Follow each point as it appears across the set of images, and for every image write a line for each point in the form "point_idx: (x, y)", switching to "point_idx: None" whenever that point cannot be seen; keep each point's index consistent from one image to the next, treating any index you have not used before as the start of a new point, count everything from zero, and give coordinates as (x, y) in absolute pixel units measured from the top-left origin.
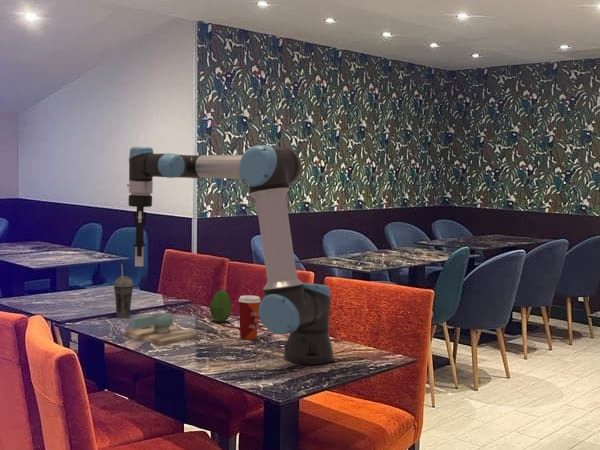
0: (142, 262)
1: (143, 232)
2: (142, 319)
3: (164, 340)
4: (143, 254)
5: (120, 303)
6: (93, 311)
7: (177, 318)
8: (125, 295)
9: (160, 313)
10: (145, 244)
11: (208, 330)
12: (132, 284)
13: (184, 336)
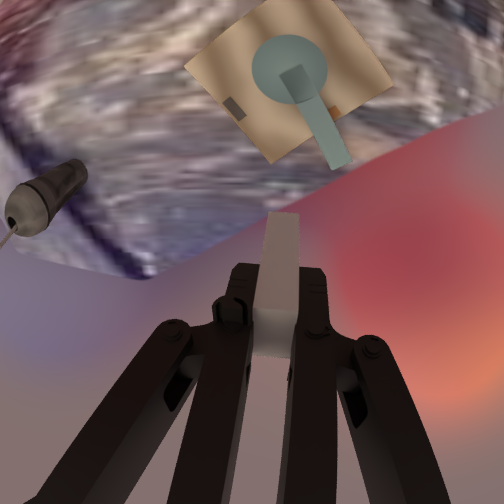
0: (298, 232)
1: (433, 456)
2: (340, 136)
3: (388, 75)
4: (298, 263)
5: (69, 193)
6: (50, 231)
7: (76, 43)
8: (55, 192)
9: (263, 72)
10: (251, 309)
11: None
12: (24, 189)
13: (343, 14)
